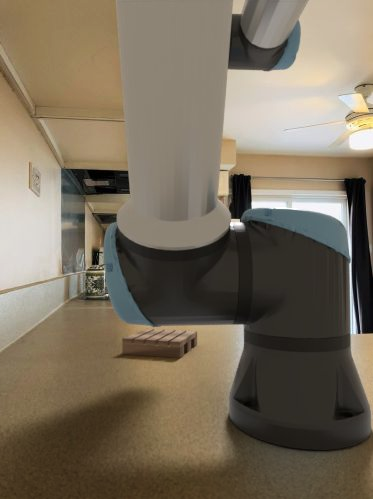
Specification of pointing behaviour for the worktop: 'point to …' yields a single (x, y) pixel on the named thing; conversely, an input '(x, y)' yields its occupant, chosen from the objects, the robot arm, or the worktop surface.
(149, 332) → the pallet dock
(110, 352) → the worktop surface
